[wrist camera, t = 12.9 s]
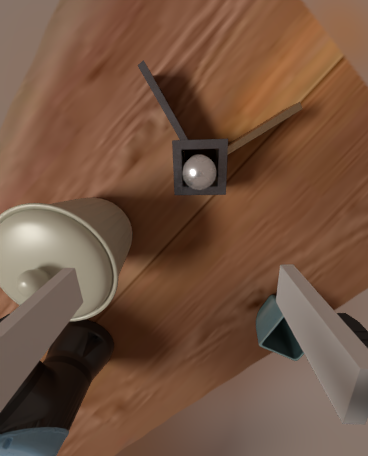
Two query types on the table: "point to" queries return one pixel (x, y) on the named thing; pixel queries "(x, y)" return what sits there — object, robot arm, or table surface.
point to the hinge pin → (199, 172)
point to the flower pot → (276, 331)
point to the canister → (64, 249)
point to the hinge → (207, 143)
